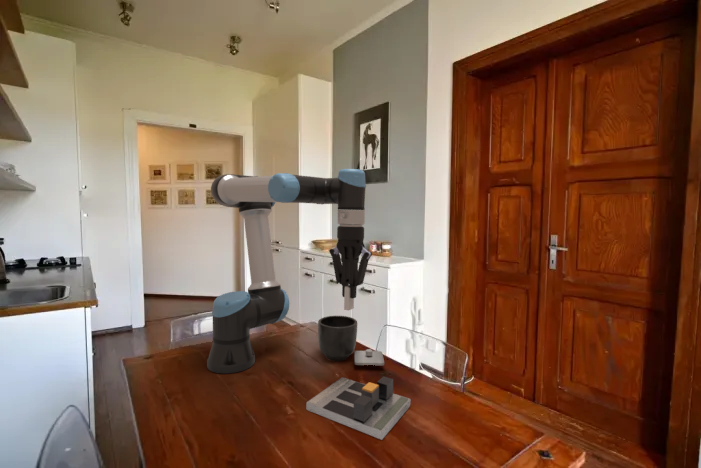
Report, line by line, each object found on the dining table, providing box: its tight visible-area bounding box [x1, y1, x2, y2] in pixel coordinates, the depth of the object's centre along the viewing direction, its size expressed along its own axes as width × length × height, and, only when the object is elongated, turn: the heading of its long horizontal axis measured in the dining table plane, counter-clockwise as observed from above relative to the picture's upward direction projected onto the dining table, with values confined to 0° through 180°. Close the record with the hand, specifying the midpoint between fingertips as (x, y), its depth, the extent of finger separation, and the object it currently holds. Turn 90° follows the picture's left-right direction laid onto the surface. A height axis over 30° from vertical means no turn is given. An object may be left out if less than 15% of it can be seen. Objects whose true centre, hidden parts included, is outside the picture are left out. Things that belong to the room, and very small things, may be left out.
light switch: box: [353, 348, 385, 367], centre depth 121 cm, size 10×10×5 cm
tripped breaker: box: [361, 381, 379, 408], centre depth 92 cm, size 3×4×4 cm
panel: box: [305, 376, 412, 441], centre depth 94 cm, size 22×17×6 cm
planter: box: [317, 315, 358, 362], centre depth 127 cm, size 14×14×13 cm
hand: (348, 308), depth 101 cm, fingers closed
